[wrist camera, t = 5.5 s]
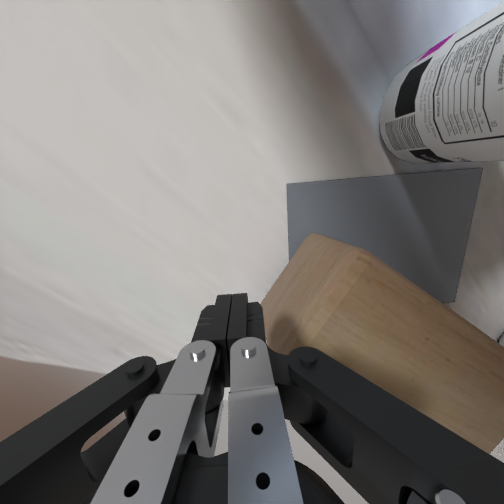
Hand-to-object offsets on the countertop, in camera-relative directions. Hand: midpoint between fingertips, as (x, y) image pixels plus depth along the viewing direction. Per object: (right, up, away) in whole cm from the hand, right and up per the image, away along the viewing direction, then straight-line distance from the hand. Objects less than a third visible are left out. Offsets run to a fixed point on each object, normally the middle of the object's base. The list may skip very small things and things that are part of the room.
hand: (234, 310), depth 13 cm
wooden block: (+4, 0, +7) cm, 8 cm away
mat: (+14, +3, +13) cm, 19 cm away
